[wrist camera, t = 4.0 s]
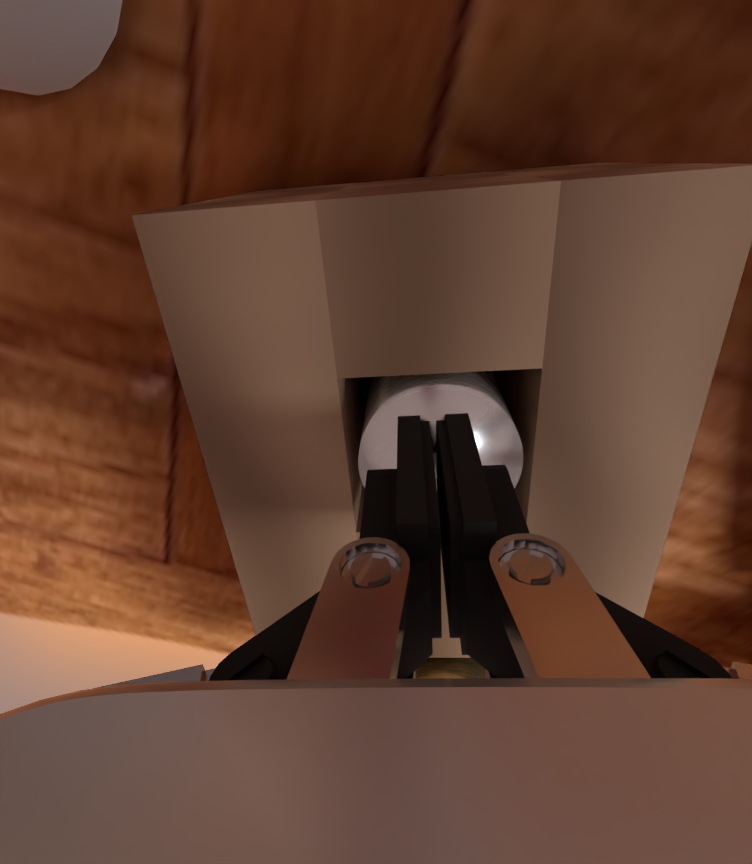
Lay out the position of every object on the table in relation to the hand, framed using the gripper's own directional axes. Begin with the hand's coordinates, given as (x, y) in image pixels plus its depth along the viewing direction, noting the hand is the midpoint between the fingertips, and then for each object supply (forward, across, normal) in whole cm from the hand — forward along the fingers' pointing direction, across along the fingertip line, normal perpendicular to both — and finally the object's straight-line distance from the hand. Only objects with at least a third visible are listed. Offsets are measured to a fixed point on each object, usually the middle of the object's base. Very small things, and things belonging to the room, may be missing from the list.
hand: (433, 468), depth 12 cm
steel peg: (+8, 0, 0) cm, 9 cm away
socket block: (+9, 0, +5) cm, 11 cm away
